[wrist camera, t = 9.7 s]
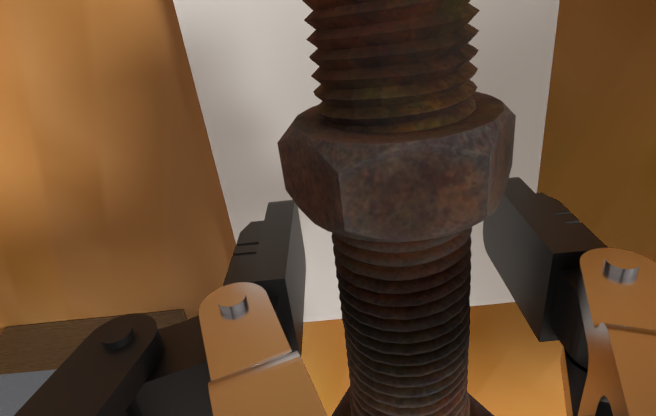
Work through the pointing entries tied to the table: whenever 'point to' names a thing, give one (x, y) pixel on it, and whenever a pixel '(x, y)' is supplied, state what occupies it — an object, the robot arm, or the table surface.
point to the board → (297, 96)
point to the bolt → (400, 192)
